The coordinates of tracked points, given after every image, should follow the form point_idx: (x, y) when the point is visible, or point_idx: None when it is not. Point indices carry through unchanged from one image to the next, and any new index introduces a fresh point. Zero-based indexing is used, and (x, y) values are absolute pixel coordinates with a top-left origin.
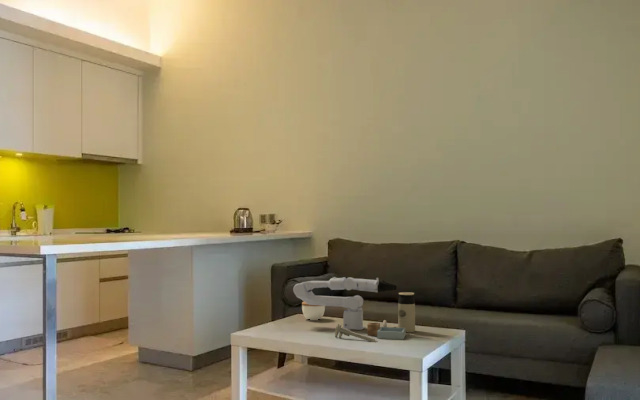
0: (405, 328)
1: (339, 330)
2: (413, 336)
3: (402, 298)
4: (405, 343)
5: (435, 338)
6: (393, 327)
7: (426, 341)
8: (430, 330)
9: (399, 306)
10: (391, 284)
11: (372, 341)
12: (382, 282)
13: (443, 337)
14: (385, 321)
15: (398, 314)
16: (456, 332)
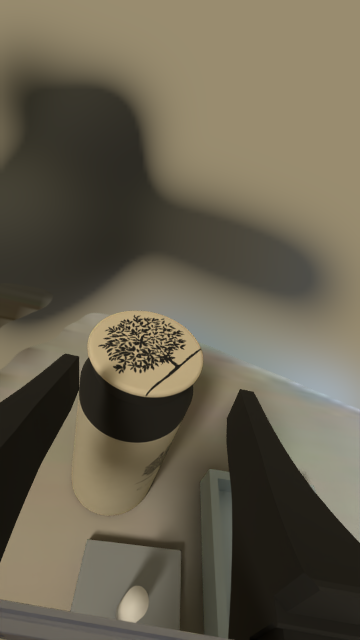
0: (215, 470)
1: None
2: (226, 452)
3: (184, 395)
4: (356, 492)
5: (234, 389)
6: (217, 535)
7: (288, 420)
8: None
9: (160, 445)
10: (48, 396)
11: None
12: (335, 523)
13: (212, 368)
14: (146, 597)
15: (135, 477)
16: None
